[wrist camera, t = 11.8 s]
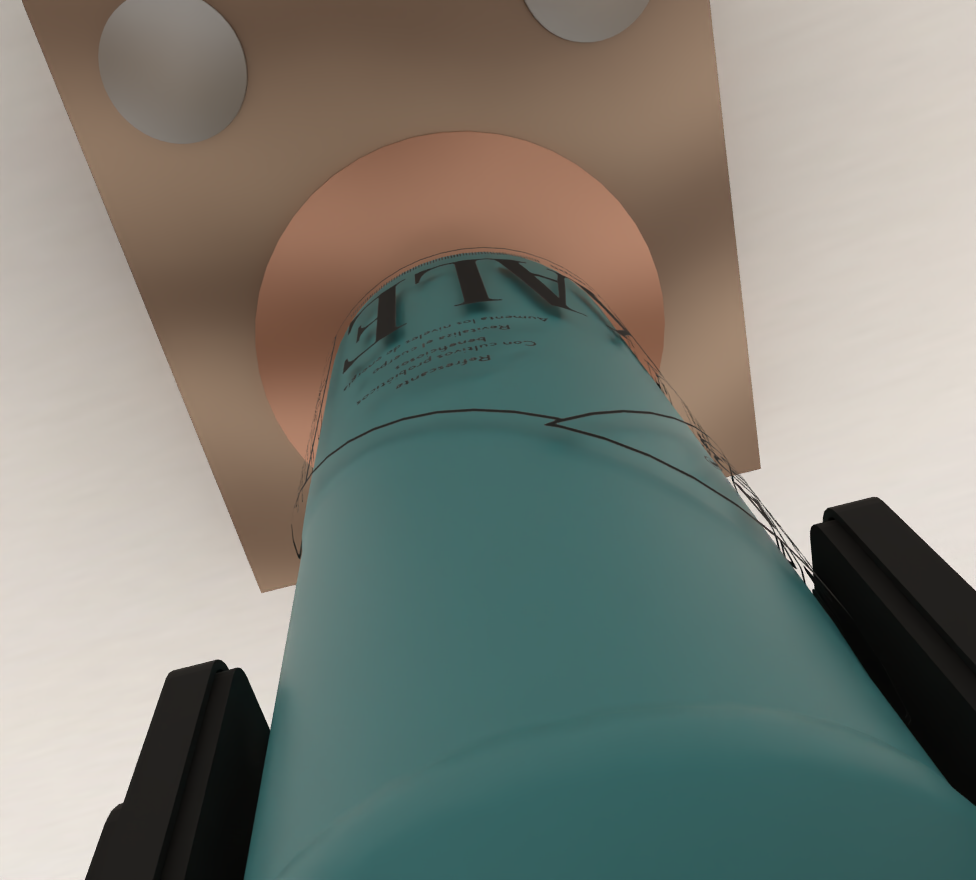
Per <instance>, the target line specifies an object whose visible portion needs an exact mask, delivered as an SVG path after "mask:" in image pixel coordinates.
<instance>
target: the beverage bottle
mask: <svg viewBox="0 0 976 880" xmlns="http://www.w3.org/2000/svg"><path fill="white" fill-rule="evenodd" d="M477 248H491V247H477ZM464 249H474V248H464ZM495 249H505V248H495ZM457 250H461V249H457ZM507 250H511V249H507ZM452 251H456V250H452ZM512 251H516V250H512ZM447 252H451V251H447ZM517 252H521V251H517ZM442 253H446V252H442ZM523 253H526V252H523ZM438 254H441V253H438ZM438 254H435V255H438ZM508 254H509V253H508ZM508 254H506V253H505V254H504V253H503V252H502V253H500V252H499V253H497V252H496V253H494V252H493V253H491V252H485V251H484V252H474V253H473V252H471V253H461V254H456V255H450V256H445V257H441V258H438V259H435V260H432V261H429V262H426V263H423V264H421V265H418V266H415V267H413V268H412V269H410V270H407V271H406V272H404V273H403V272H402V274H401V275H400V274H399V276H398V277H397V276H396V278H395V277H394V279H393V280H392V279H391V281H389V282H388V283H387V282H386V285H385V284H384V285H383V287H382V286H381V289H380V288H379V291H378V292H377V290H376V293H375V292H374V295H373V293H372V297H371V295H370V297H369V300H368V298H367V300H368V301H367V302H366V299H365V302H366V303H365V305H364V306H363V307H362V308H361V309H360V310H359V312H358V313H357V315H356V316H355V318H354V319H353V320H352V322H351V323H350V325H349V327H348V329H347V331H346V333H345V335H344V337H343V339H342V341H341V343H340V346H339V349H338V351H337V354H336V357H335V360H334V364H333V369H332V374H331V378H330V384H329V389H328V394H327V400H326V405H325V410H324V416H323V421H322V415H321V430H320V436H319V437H318V440H319V442H318V447H317V452H316V458H315V463H314V468H312V472H311V474H310V476H311V475H312V478H311V483H310V488H309V494H308V499H307V504H306V511H305V517H304V524H303V531H302V541H301V547H300V553H299V554H298V551H297V548H296V545H295V542H294V539H293V544H294V547H295V550H296V553H297V556H298V558H299V559H300V558H301V562H300V567H299V573H298V578H297V584H296V590H295V595H294V601H293V606H292V612H291V618H290V623H289V629H288V634H287V640H286V646H285V651H284V657H283V662H282V668H281V674H280V679H279V685H278V690H277V696H276V701H275V707H274V713H273V718H272V724H271V729H270V735H269V741H268V746H267V752H266V757H265V763H264V769H263V774H262V780H261V785H260V791H259V797H258V802H257V808H256V813H255V819H254V825H253V830H252V836H251V841H250V847H249V853H248V858H247V864H246V869H245V875H244V880H976V806H975V805H973V804H972V803H971V802H970V801H969V800H967V799H966V798H965V797H964V796H962V795H961V794H960V793H959V792H957V791H956V790H955V789H954V788H953V787H952V786H951V785H950V784H949V783H948V781H947V780H946V779H945V777H944V776H943V775H942V773H941V772H940V771H939V769H938V768H937V767H936V765H935V764H934V763H933V761H932V760H931V759H930V757H929V756H928V755H927V753H926V752H925V751H924V749H923V748H922V746H921V745H920V744H919V742H918V741H917V740H916V738H915V737H914V736H913V734H912V733H911V732H910V730H909V729H908V728H907V726H906V725H905V724H904V722H903V721H902V720H901V718H900V717H899V716H898V714H897V713H896V712H895V710H894V709H893V708H892V706H891V705H890V704H889V702H888V701H887V700H886V698H885V697H884V696H883V694H882V693H881V692H880V690H879V689H878V688H877V686H876V685H875V684H874V682H873V681H872V679H871V678H870V677H869V675H868V673H867V672H866V670H865V669H864V667H863V666H862V664H861V663H860V661H859V660H858V658H857V657H856V655H855V654H854V652H853V651H852V649H851V648H850V646H849V645H848V643H847V642H846V640H845V639H844V637H843V636H844V635H843V636H842V634H843V631H842V629H841V626H840V624H839V622H838V621H837V619H836V618H835V616H834V615H833V613H832V612H831V611H830V610H829V609H828V608H827V607H826V605H825V603H824V602H823V600H822V599H821V597H820V596H819V595H818V593H817V592H816V591H815V590H814V589H813V590H812V592H813V594H812V592H811V591H810V590H809V588H808V587H807V586H806V583H805V578H804V574H803V571H802V569H801V567H800V565H799V563H798V562H797V560H796V558H795V557H794V555H795V556H797V555H796V554H795V553H794V552H793V551H792V550H791V549H790V548H789V547H788V545H787V544H786V542H785V541H784V539H783V537H782V536H781V534H780V533H779V534H780V536H781V537H782V539H783V541H784V542H785V543H784V542H783V541H782V540H781V539H780V538H779V537H778V536H777V535H776V534H775V532H774V529H773V528H772V529H773V532H774V533H773V532H772V531H770V530H769V529H768V528H767V527H765V526H764V525H763V524H762V523H760V522H759V521H758V520H757V519H756V517H755V516H754V515H753V513H752V512H751V510H750V509H749V508H748V506H747V505H746V504H745V502H744V501H743V500H742V498H741V497H740V496H739V494H738V492H737V489H736V486H735V484H736V485H737V486H738V487H739V489H740V490H741V491H742V492H743V493H744V494H745V495H746V496H747V498H748V499H749V500H750V501H751V502H752V503H753V505H754V506H755V507H756V508H757V509H758V511H759V512H760V513H761V514H762V515H763V516H764V518H765V519H766V520H767V521H768V523H769V524H770V526H771V527H772V526H773V527H774V526H775V525H773V524H774V523H773V521H772V520H771V518H770V517H769V518H770V519H769V518H768V516H767V515H768V514H767V515H766V513H765V512H766V511H767V512H768V513H769V514H770V512H769V511H768V510H767V509H766V508H765V509H766V511H765V512H764V510H763V509H764V508H763V507H761V504H759V501H760V500H759V499H758V497H757V496H756V495H754V494H755V493H754V492H753V491H752V490H751V489H750V487H749V486H747V485H748V484H747V483H746V481H745V483H746V484H747V485H746V484H745V483H744V482H743V483H744V484H745V485H746V486H747V487H748V488H749V489H750V490H751V491H752V492H753V493H754V494H753V493H752V492H751V491H750V492H751V493H752V494H753V495H754V496H755V498H757V499H758V500H759V501H758V500H757V499H755V498H753V497H752V496H751V497H752V498H753V499H752V498H751V497H750V496H749V495H748V494H746V493H745V492H744V490H743V489H742V488H741V487H740V486H739V485H738V484H737V483H735V482H734V479H733V477H734V476H733V475H732V472H733V474H734V475H735V474H736V473H737V472H738V471H737V470H736V471H737V472H736V471H735V470H734V469H733V468H732V467H733V466H732V464H731V463H729V462H728V461H726V460H727V459H726V460H725V459H724V458H723V457H721V456H720V457H721V458H722V459H723V460H724V461H726V462H728V464H727V463H726V462H725V463H726V464H727V465H729V464H730V465H731V466H732V467H730V465H729V469H730V472H729V471H728V470H727V469H726V468H725V467H723V466H722V464H721V463H720V462H719V460H721V459H720V458H719V457H718V456H717V455H716V454H715V452H713V451H714V450H713V449H712V448H711V450H710V449H709V448H708V446H707V444H706V443H708V444H709V443H710V442H709V441H708V442H707V441H706V439H707V438H708V437H709V436H708V435H707V434H705V432H702V430H703V429H702V430H701V428H702V427H701V428H699V427H700V426H701V425H700V424H699V425H700V426H699V425H698V423H697V425H698V426H699V427H698V428H699V429H700V430H699V429H698V428H697V427H696V425H694V426H693V425H691V424H689V423H687V422H684V420H683V419H682V418H681V416H680V415H679V414H678V412H677V411H676V409H675V408H674V407H673V405H672V402H671V403H670V401H671V399H670V401H669V400H668V399H667V397H666V396H665V393H664V391H663V388H662V391H663V392H662V391H661V387H662V386H660V383H659V384H658V383H657V381H656V383H655V381H654V380H653V377H651V376H652V375H651V376H650V374H649V373H648V372H647V370H646V369H645V368H644V366H643V365H642V364H641V362H640V361H639V360H638V358H637V355H635V354H634V353H635V351H634V353H633V352H632V350H631V347H630V348H629V346H630V344H629V346H628V345H627V344H626V342H625V341H624V339H623V338H622V337H621V335H622V336H623V337H625V338H626V337H627V335H629V336H632V335H631V334H630V332H629V331H628V330H627V328H626V327H625V326H624V325H622V324H623V323H622V322H621V321H620V322H621V323H622V324H621V323H620V322H619V321H618V320H617V319H616V318H615V317H614V315H613V314H612V313H611V312H610V311H609V310H608V309H607V308H606V307H605V306H604V305H603V304H602V303H601V302H600V301H599V300H598V299H597V298H598V297H597V296H596V295H594V294H593V293H592V292H591V291H589V290H588V289H586V288H585V287H583V286H582V285H580V284H578V283H577V282H575V281H574V282H575V283H576V284H577V285H576V284H575V283H574V282H573V280H572V279H570V278H568V277H566V276H563V275H562V274H560V273H558V272H557V271H555V270H553V269H551V268H548V267H546V266H544V265H542V264H540V262H539V261H538V260H537V261H538V262H539V263H538V262H537V261H536V259H535V261H536V262H535V261H534V260H533V258H532V260H533V261H532V260H531V259H530V257H529V259H530V260H528V258H527V256H526V258H527V259H525V257H524V256H523V257H524V258H522V256H521V255H520V257H519V256H518V255H517V256H516V255H515V254H514V255H512V254H511V255H510V254H509V255H508ZM527 254H529V253H527ZM435 255H432V256H435ZM530 255H532V254H530ZM432 256H429V257H432ZM533 256H535V255H533ZM429 257H426V258H429ZM536 257H538V256H536ZM426 258H423V259H426ZM539 258H541V257H539ZM423 259H420V260H423ZM542 259H544V258H542ZM420 260H418V261H420ZM545 260H546V259H545ZM418 261H416V262H418ZM547 261H548V260H547ZM416 262H414V263H416ZM549 262H551V261H549ZM551 263H553V262H551ZM412 264H413V263H412ZM554 264H555V263H554ZM409 265H411V264H409ZM409 265H407V266H409ZM556 265H557V264H556ZM407 266H405V267H407ZM558 266H559V265H558ZM405 267H403V268H405ZM551 267H553V266H552V265H551ZM560 267H561V266H560ZM403 268H401V269H403ZM553 268H555V267H553ZM562 268H563V267H562ZM401 269H399V270H401ZM555 269H557V268H555ZM564 269H565V268H564ZM399 270H398V271H399ZM557 270H558V269H557ZM559 270H560V271H562V272H563V270H561V269H559ZM566 270H567V269H566ZM398 271H396V272H398ZM567 271H568V270H567ZM396 272H395V273H396ZM569 272H570V271H569ZM564 273H566V274H568V273H567V272H565V271H564ZM393 274H394V273H393ZM393 274H392V275H393ZM572 274H573V273H572ZM569 275H570V274H569ZM574 275H575V274H574ZM390 276H391V275H390ZM390 276H388V277H390ZM570 276H571V277H572V275H570ZM575 276H576V275H575ZM388 277H387V278H388ZM577 277H578V276H577ZM387 278H385V279H387ZM385 279H384V280H385ZM574 279H576V278H575V277H574ZM580 279H581V278H580ZM571 280H572V281H571ZM576 280H577V279H576ZM382 281H383V280H382ZM382 281H381V282H382ZM578 281H580V280H578ZM381 282H380V283H381ZM380 283H379V284H380ZM581 283H582V281H581ZM379 284H378V285H379ZM586 284H587V283H586ZM578 285H579V286H580V287H581V288H582V289H583V290H582V289H581V288H580V287H579V286H578ZM584 285H585V284H584ZM587 285H588V284H587ZM376 286H377V285H376ZM376 286H375V287H376ZM375 287H374V288H375ZM374 288H373V289H374ZM373 289H372V290H373ZM589 289H590V288H589ZM592 289H593V288H592ZM592 289H591V290H592ZM593 290H594V289H593ZM370 291H371V290H370ZM370 291H369V292H370ZM369 292H368V293H369ZM368 293H367V294H368ZM587 293H588V294H589V295H590V296H591V297H592V298H593V299H594V300H595V301H596V302H597V303H598V304H600V305H601V306H602V307H603V308H604V309H605V310H606V312H607V313H608V314H609V315H610V316H611V317H612V318H613V319H614V320H615V321H616V322H617V323H618V324H619V325H620V326H621V327H622V329H624V330H616V329H615V327H614V326H613V325H612V323H611V322H610V321H609V319H608V318H607V317H606V315H605V314H604V313H603V311H602V310H601V308H600V307H599V306H598V305H597V304H596V303H595V302H594V301H593V299H592V298H591V297H590V296H589V295H588V294H587ZM367 294H366V295H367ZM366 295H365V296H366ZM365 296H364V297H365ZM595 296H596V297H597V298H596V297H595ZM598 296H599V297H600V298H601V296H600V295H598ZM364 297H363V298H364ZM363 298H362V299H363ZM362 299H361V300H362ZM361 300H360V301H361ZM360 301H359V302H360ZM359 302H358V303H359ZM363 304H364V302H363ZM361 306H362V304H361ZM355 307H356V306H355ZM355 307H354V308H355ZM354 308H353V309H354ZM359 308H360V306H359ZM609 308H610V307H609ZM353 309H352V310H353ZM352 310H351V311H352ZM610 310H611V309H610ZM357 311H358V308H357ZM350 313H351V312H350ZM350 313H349V314H350ZM355 313H356V310H355ZM353 315H354V312H353ZM615 315H616V314H615ZM348 316H349V315H348ZM348 316H347V317H348ZM351 317H352V315H351ZM616 317H617V316H616ZM617 318H618V317H617ZM618 319H619V318H618ZM345 320H346V319H345ZM619 320H620V319H619ZM343 323H344V322H343ZM343 323H342V324H343ZM341 326H342V325H341ZM624 327H625V328H624ZM336 336H337V335H336ZM629 336H628V337H629ZM632 337H633V336H632ZM334 339H335V341H336V337H335V338H334ZM626 339H628V338H626ZM633 339H634V337H633ZM634 340H635V339H634ZM333 341H334V340H333ZM335 341H334V346H335ZM629 341H630V342H631V340H629ZM629 341H628V343H629ZM635 341H636V340H635ZM332 343H333V342H332ZM636 343H637V341H636ZM631 344H633V343H632V342H631ZM637 344H638V343H637ZM638 345H639V344H638ZM334 346H333V351H334ZM632 346H633V345H632ZM639 346H640V345H639ZM633 347H634V346H633ZM640 348H641V346H640ZM641 349H642V348H641ZM642 350H643V349H642ZM333 351H332V353H331V354H332V356H333ZM643 352H644V350H643ZM644 353H645V352H644ZM645 354H646V353H645ZM646 355H647V354H646ZM330 356H331V355H330ZM332 356H331V360H332ZM327 357H328V356H327ZM647 357H648V355H647ZM329 358H330V357H329ZM648 358H649V357H648ZM649 359H650V358H649ZM326 360H327V359H326ZM328 360H329V359H328ZM331 360H330V365H331ZM645 361H646V360H645ZM650 361H651V359H650ZM646 362H647V364H648V366H651V365H650V364H649V362H648V361H646ZM651 362H652V361H651ZM325 363H326V362H325ZM652 363H653V362H652ZM653 364H654V363H653ZM330 365H329V370H330ZM326 366H327V365H326ZM654 366H655V364H654ZM651 367H652V366H651ZM655 367H656V366H655ZM656 368H657V367H656ZM324 369H326V368H324ZM649 369H650V368H649ZM653 369H655V368H654V367H652V370H653ZM329 370H328V375H329ZM655 370H656V369H655ZM657 370H658V368H657ZM657 370H656V372H658V371H659V370H658V371H657ZM653 371H654V370H653ZM324 372H325V371H324ZM656 372H655V374H656V376H657V378H659V377H660V376H658V375H657V373H656ZM659 372H660V371H659ZM659 372H658V373H659ZM650 373H651V371H650ZM660 373H661V372H660ZM660 373H659V374H660ZM323 375H324V374H323ZM328 375H327V379H326V381H325V382H326V384H327V380H328ZM660 375H661V376H663V375H662V374H660ZM660 378H661V377H660ZM660 378H659V379H660ZM663 378H664V377H663ZM663 378H661V379H663ZM659 379H658V382H659ZM664 379H665V378H664ZM664 379H663V380H664ZM324 380H325V379H324ZM655 380H656V378H655ZM665 380H666V379H665ZM665 380H664V381H665ZM660 381H661V380H660ZM666 382H667V381H666ZM324 384H325V383H324ZM326 384H325V389H326ZM661 384H663V383H661ZM321 385H322V382H321ZM668 385H670V384H668ZM323 386H324V385H323ZM663 387H664V384H663ZM671 387H672V386H671ZM320 388H321V387H320ZM322 388H323V387H322ZM665 388H666V387H665ZM665 388H664V390H665ZM325 389H324V394H325ZM672 389H673V388H672ZM666 390H667V389H666ZM666 390H665V392H666V394H667V391H666ZM321 391H322V390H321ZM321 391H319V392H321ZM674 392H676V391H674ZM320 394H321V393H319V394H318V396H319V397H320V398H321V396H320ZM324 394H323V398H322V403H323V399H324ZM668 394H669V393H668ZM676 395H678V394H676ZM319 397H318V398H319ZM669 397H670V395H669ZM320 398H319V399H320ZM679 398H680V397H679ZM319 399H318V400H319ZM680 399H681V398H680ZM318 400H317V401H318ZM682 402H683V401H682ZM682 402H681V403H682ZM317 403H318V402H317ZM322 403H321V401H320V405H321V408H322ZM683 404H684V406H685V405H686V404H685V403H683ZM683 404H682V405H683ZM316 406H317V404H316ZM684 406H683V407H684ZM318 407H319V406H318ZM318 407H316V408H315V409H318ZM685 407H686V408H687V406H685ZM321 408H320V413H321ZM687 410H688V409H687ZM689 411H690V410H689ZM315 412H317V411H316V410H315ZM320 413H319V417H318V422H317V427H316V431H315V436H314V441H313V443H312V450H311V449H310V453H311V455H310V460H309V464H307V465H308V469H307V474H306V480H305V483H304V485H303V484H302V486H303V487H304V486H305V484H306V483H307V481H308V479H309V478H310V476H309V477H308V470H309V466H310V461H311V462H312V457H311V456H312V451H313V446H314V442H315V437H316V432H317V428H318V423H319V418H320ZM688 413H689V412H688ZM690 413H691V412H690ZM686 414H687V413H686ZM689 415H690V414H689ZM314 416H316V413H315V415H314ZM687 416H688V415H687ZM690 416H691V417H692V414H691V415H690ZM688 418H689V417H688ZM693 418H694V417H692V418H691V419H693ZM695 419H696V418H695ZM313 420H314V421H315V418H314V419H313ZM692 421H693V420H692ZM693 422H694V421H693ZM696 422H697V421H696ZM690 423H691V422H690ZM694 424H695V422H694ZM687 425H689V426H692V427H694V428H696V430H699V431H700V432H702V433H703V434H705V436H706V437H707V436H708V437H707V438H706V439H705V437H703V436H704V435H703V434H702V435H703V436H702V437H703V438H704V439H705V440H704V439H702V438H701V435H699V434H700V433H699V432H697V433H699V434H698V436H699V437H700V438H701V439H700V440H701V442H702V443H703V444H704V445H705V446H706V449H707V448H708V449H709V451H711V452H712V453H713V454H715V455H713V456H714V458H715V460H716V461H717V462H718V463H719V464H720V465H721V466H722V467H723V468H724V469H725V470H726V471H728V472H729V473H730V474H731V477H732V481H733V484H734V483H735V484H734V487H735V489H736V490H735V489H734V488H733V486H732V485H731V484H730V482H729V481H728V479H727V478H726V477H725V475H724V474H723V473H722V471H723V470H722V468H721V467H720V466H719V465H718V463H716V461H715V462H714V461H713V459H712V458H711V457H710V456H711V453H709V451H708V450H707V451H708V453H709V454H710V455H709V454H708V453H707V451H706V450H705V449H704V445H703V444H701V443H700V442H699V440H698V439H697V438H696V436H695V435H694V434H693V433H694V432H692V431H691V430H690V428H689V427H688V426H687ZM311 427H312V426H311ZM314 430H315V427H314ZM692 430H693V428H692ZM703 431H704V430H703ZM311 432H312V429H311ZM311 432H310V433H311ZM313 435H314V433H313V432H312V438H313ZM310 438H311V437H310ZM310 438H309V439H310ZM709 438H710V437H709ZM710 439H711V438H710ZM707 440H709V439H707ZM711 440H712V439H711ZM309 441H310V440H309ZM309 441H308V442H309ZM712 441H713V440H712ZM705 442H706V443H705ZM713 442H714V441H713ZM714 443H715V442H714ZM715 444H716V443H715ZM709 445H711V443H710V444H709ZM711 446H712V445H711ZM711 446H710V447H711ZM712 447H713V446H712ZM713 448H714V447H713ZM714 449H715V448H714ZM712 450H713V451H712ZM716 450H717V449H716ZM717 451H718V450H717ZM721 451H722V450H721ZM307 452H308V445H307ZM718 452H719V451H718ZM719 453H720V452H719ZM722 453H723V452H722ZM720 454H721V453H720ZM721 455H722V454H721ZM723 455H724V454H723ZM305 456H306V455H305ZM307 456H308V454H307ZM724 457H725V455H724ZM725 458H726V457H725ZM305 460H306V458H305ZM307 461H308V458H307ZM721 461H722V460H721ZM304 462H305V461H304ZM313 462H314V452H313ZM722 462H723V461H722ZM307 463H308V462H307ZM723 463H724V462H723ZM305 465H306V463H305ZM719 467H720V468H721V470H720V468H719ZM305 468H306V466H305ZM731 468H732V469H733V470H734V471H735V472H736V473H735V472H734V471H732V470H731ZM302 469H303V468H302ZM302 472H303V471H302ZM302 472H301V473H302ZM737 474H738V476H739V477H740V478H741V476H740V475H739V473H737ZM737 474H736V475H737ZM736 475H735V476H736ZM307 477H308V479H307ZM736 477H737V476H736ZM302 478H303V473H302ZM734 478H735V477H734ZM737 478H738V477H737ZM742 478H743V477H742ZM742 478H741V479H742ZM735 479H736V478H735ZM738 479H739V478H738ZM300 480H301V478H300ZM736 480H737V479H736ZM739 480H740V479H739ZM742 480H744V479H742ZM737 481H738V480H737ZM740 481H741V480H740ZM302 482H303V480H302ZM738 482H739V481H738ZM739 483H740V482H739ZM740 484H741V483H740ZM299 485H300V484H299ZM742 485H743V484H742ZM743 486H744V485H743ZM303 487H302V488H301V490H302V492H303ZM744 487H745V486H744ZM745 488H746V487H745ZM746 489H747V488H746ZM298 490H299V488H298ZM301 490H299V491H300V492H301ZM747 490H748V489H747ZM748 491H749V490H748ZM298 494H300V493H298ZM298 494H297V496H298V498H299V495H298ZM302 496H303V494H302ZM298 498H297V500H298ZM750 498H751V499H752V500H753V501H754V502H755V503H756V504H757V505H758V507H759V508H760V509H759V508H758V507H757V506H756V505H755V504H754V502H753V501H752V500H751V499H750ZM297 500H296V502H297ZM302 502H303V500H302ZM760 502H761V501H760ZM295 505H296V503H295ZM296 506H297V505H296ZM762 506H764V505H763V504H762ZM294 508H295V506H294ZM762 508H763V509H762ZM760 510H761V511H762V512H761V511H760ZM770 516H771V514H770ZM771 517H772V516H771ZM772 518H773V517H772ZM774 519H775V518H773V520H774ZM770 520H771V521H772V522H771V521H770ZM774 521H775V522H776V523H777V521H776V520H774ZM772 523H773V524H772ZM777 525H778V526H779V527H780V529H781V526H780V525H779V524H778V523H777ZM762 526H763V527H764V528H765V529H766V530H768V531H769V532H770V533H771V534H773V535H774V536H775V538H776V541H777V545H778V547H777V545H776V544H775V543H774V541H773V540H772V539H771V537H770V536H769V535H768V533H767V532H766V531H765V529H764V528H763V527H762ZM291 527H292V526H291ZM774 528H775V529H777V528H776V526H775V527H774ZM781 530H782V531H783V532H785V531H784V530H783V529H781ZM777 531H778V529H777ZM778 532H779V531H778ZM784 534H785V533H784ZM785 535H787V534H785ZM292 536H293V529H292ZM777 538H778V539H779V540H780V542H781V546H782V550H783V554H784V555H783V554H782V552H781V551H780V547H779V543H778V539H777ZM787 538H788V539H789V540H790V542H791V543H792V545H793V544H794V543H793V542H792V540H791V539H790V538H789V537H788V535H787ZM782 543H783V544H784V545H785V546H786V547H787V548H788V549H789V550H790V552H791V553H794V555H793V554H792V555H793V557H794V558H795V560H796V562H797V563H798V565H799V567H800V569H801V572H802V577H803V580H802V579H801V578H800V576H799V575H798V574H797V572H796V571H795V570H794V568H795V569H797V568H796V566H795V564H794V563H793V561H792V559H791V557H790V555H789V553H788V552H787V550H786V548H785V547H784V545H783V544H782ZM793 546H795V544H794V545H793ZM783 547H784V548H783ZM795 547H796V546H795ZM795 547H794V548H795ZM796 548H797V547H796ZM796 548H795V549H796ZM784 549H785V550H786V552H787V554H788V556H789V558H790V560H791V562H790V561H789V560H787V559H786V556H785V552H784ZM797 550H798V551H799V549H798V548H797ZM797 550H796V551H797ZM798 551H797V552H798ZM301 552H302V556H301ZM798 554H799V553H798ZM800 554H802V553H801V552H800ZM800 554H799V555H800ZM797 557H798V556H797ZM800 557H801V555H800ZM803 557H804V556H803ZM798 558H799V557H798ZM801 558H802V557H801ZM804 558H805V557H804ZM799 559H800V558H799ZM802 559H803V558H802ZM805 559H806V558H805ZM800 560H801V559H800ZM803 560H804V559H803ZM801 561H802V560H801ZM806 561H807V560H806ZM802 562H803V561H802ZM804 562H805V561H804ZM804 562H803V563H804ZM805 563H806V562H805ZM805 563H804V564H805ZM807 563H808V564H809V562H808V561H807ZM807 563H806V564H805V565H806V566H807V567H808V568H809V569H810V570H811V571H812V572H813V573H814V575H815V576H816V577H817V579H818V580H819V581H820V583H821V584H822V585H823V584H824V583H823V582H822V581H821V579H820V578H819V577H818V575H817V574H815V573H816V572H815V571H813V570H814V569H813V568H812V566H811V565H810V564H809V565H810V566H811V568H812V569H813V570H812V569H811V568H810V567H809V566H808V564H807ZM793 567H794V568H793ZM804 568H805V571H806V572H807V574H808V575H809V577H810V578H811V580H812V581H813V583H814V584H815V586H816V587H817V588H818V590H819V591H820V593H821V594H822V596H823V597H824V599H825V600H826V602H827V603H828V604H829V606H830V607H831V609H832V610H833V612H834V613H835V615H836V616H837V618H838V619H839V617H838V615H837V613H836V612H835V610H834V609H833V607H832V606H831V605H830V603H829V602H828V600H827V599H826V597H825V596H824V594H823V593H822V591H821V590H820V589H819V587H820V588H821V589H822V590H823V592H824V593H825V594H826V595H827V596H828V597H829V599H830V600H831V601H832V599H831V597H830V595H829V594H828V592H827V591H826V590H825V589H824V588H823V587H822V586H821V584H820V583H819V582H818V581H817V580H816V579H815V578H814V577H813V575H812V574H811V573H810V572H809V571H808V570H807V569H806V567H805V566H804ZM803 581H804V582H803ZM817 585H818V586H819V587H818V586H817ZM824 585H825V584H824ZM824 585H823V586H824ZM825 587H826V585H825ZM826 588H827V587H826ZM827 589H828V588H827ZM828 590H829V589H828ZM829 591H830V590H829ZM830 592H831V591H830ZM831 594H832V593H831ZM832 595H833V594H832ZM833 596H834V595H833ZM834 597H835V596H834ZM817 598H818V600H819V601H820V602H821V604H822V605H823V606H824V608H825V609H826V611H825V610H824V609H823V607H822V606H821V605H820V603H819V602H818V600H817ZM835 598H836V597H835ZM836 600H837V599H836ZM837 601H838V600H837ZM838 602H839V601H838ZM839 603H840V602H839ZM840 604H841V603H840ZM841 606H842V605H841ZM842 607H843V606H842ZM843 608H844V607H843ZM844 609H845V608H844ZM845 610H846V609H845ZM826 612H827V613H826ZM846 612H847V611H846ZM847 613H848V612H847ZM848 614H849V613H848ZM849 615H850V614H849ZM831 617H832V618H833V620H834V621H835V622H836V624H837V626H838V628H839V630H840V631H839V630H838V628H837V627H836V625H835V624H834V622H833V621H832V619H831ZM851 618H852V617H851ZM839 621H840V619H839ZM853 621H854V620H853ZM855 624H856V623H855ZM857 627H858V626H857ZM859 630H860V629H859ZM840 632H841V633H842V634H841V633H840ZM861 633H862V632H861ZM863 636H864V635H863ZM865 639H866V638H865ZM867 642H868V641H867ZM869 645H870V644H869ZM871 648H872V647H871ZM873 651H874V650H873ZM875 654H876V653H875ZM877 657H878V656H877ZM882 665H883V664H882ZM883 667H884V666H883ZM884 668H885V667H884ZM885 670H886V669H885ZM886 672H887V671H886ZM887 674H888V673H887ZM888 676H889V674H888ZM889 678H890V676H889ZM890 680H891V678H890ZM891 682H892V680H891ZM892 684H893V682H892ZM893 686H894V684H893ZM894 688H895V686H894ZM895 690H896V688H895ZM896 692H897V690H896ZM897 694H898V692H897ZM898 696H899V694H898ZM899 697H900V696H899ZM900 699H901V698H900ZM901 701H902V700H901ZM902 703H903V702H902ZM903 705H904V704H903ZM904 707H905V706H904ZM905 709H906V708H905ZM906 712H907V715H906V717H905V718H906V720H907V722H908V724H909V723H910V722H911V718H910V716H909V713H908V711H907V709H906Z"/></svg>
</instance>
